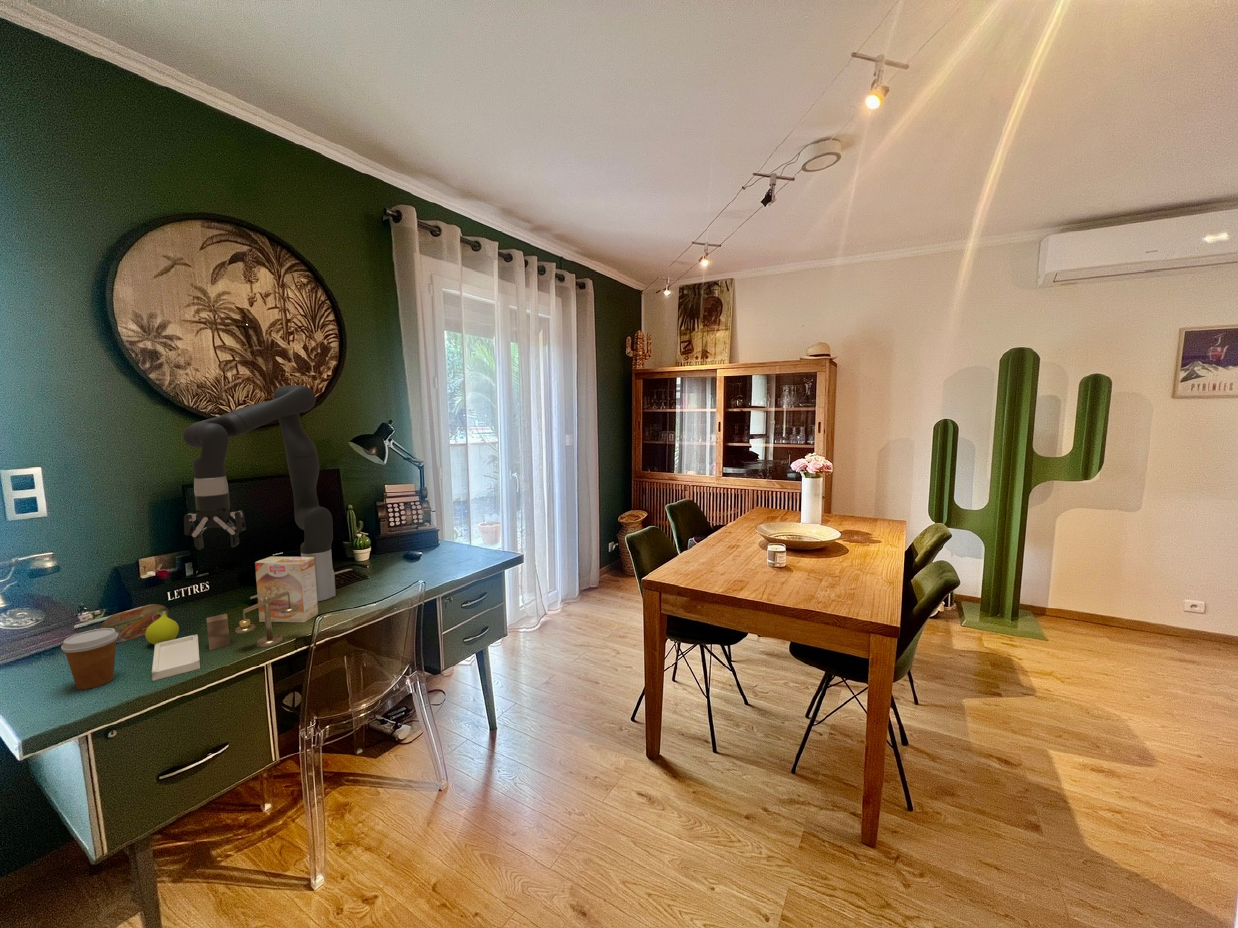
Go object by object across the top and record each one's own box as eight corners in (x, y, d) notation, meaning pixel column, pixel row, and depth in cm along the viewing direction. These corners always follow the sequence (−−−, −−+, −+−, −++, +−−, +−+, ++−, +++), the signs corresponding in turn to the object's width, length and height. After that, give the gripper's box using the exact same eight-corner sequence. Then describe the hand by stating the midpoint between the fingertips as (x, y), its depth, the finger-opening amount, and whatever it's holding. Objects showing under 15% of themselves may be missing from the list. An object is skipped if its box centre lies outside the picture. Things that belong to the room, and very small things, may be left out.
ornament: (176, 635, 147) (172, 603, 146) (183, 641, 143) (180, 608, 142) (143, 644, 141) (139, 611, 140) (150, 651, 137) (146, 617, 136)
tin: (104, 647, 140) (101, 619, 139) (100, 645, 141) (96, 617, 140) (171, 627, 153) (169, 600, 152) (166, 625, 154) (164, 599, 154)
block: (228, 639, 144) (226, 613, 143) (230, 645, 141) (227, 618, 140) (208, 644, 141) (206, 617, 140) (209, 650, 138) (207, 622, 137)
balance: (299, 631, 149) (295, 586, 148) (302, 638, 145) (299, 591, 143) (235, 647, 139) (231, 599, 138) (237, 654, 135) (233, 605, 133)
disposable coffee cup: (72, 697, 115) (66, 648, 114) (61, 685, 120) (56, 638, 119) (128, 678, 123) (123, 632, 122) (116, 668, 128) (111, 624, 127)
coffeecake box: (258, 622, 156) (253, 562, 154) (275, 613, 163) (270, 555, 161) (304, 622, 156) (300, 562, 154) (318, 613, 163) (315, 556, 161)
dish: (198, 640, 144) (197, 634, 143) (200, 668, 128) (199, 660, 128) (155, 650, 138) (155, 643, 137) (152, 680, 122) (151, 673, 122)
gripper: (246, 489, 147) (251, 542, 149) (190, 491, 144) (196, 546, 146) (233, 493, 140) (239, 549, 142) (174, 496, 137) (180, 553, 139)
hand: (217, 547), depth 144 cm, fingers open, 8 cm apart
